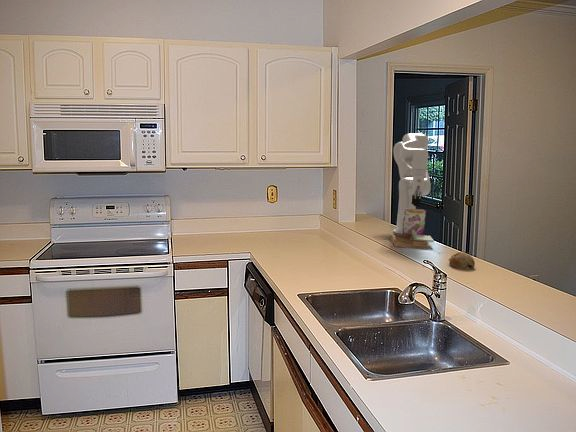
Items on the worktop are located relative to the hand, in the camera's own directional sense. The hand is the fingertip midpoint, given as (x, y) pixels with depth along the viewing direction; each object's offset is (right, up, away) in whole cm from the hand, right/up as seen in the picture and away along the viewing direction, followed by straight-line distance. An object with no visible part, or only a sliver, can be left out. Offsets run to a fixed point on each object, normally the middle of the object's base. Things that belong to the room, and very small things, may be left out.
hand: (415, 205), depth 285 cm
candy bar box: (-1, -18, +3) cm, 19 cm away
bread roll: (+6, -27, -55) cm, 62 cm away
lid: (+1, -17, -12) cm, 21 cm away
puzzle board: (-6, -20, -11) cm, 23 cm away
